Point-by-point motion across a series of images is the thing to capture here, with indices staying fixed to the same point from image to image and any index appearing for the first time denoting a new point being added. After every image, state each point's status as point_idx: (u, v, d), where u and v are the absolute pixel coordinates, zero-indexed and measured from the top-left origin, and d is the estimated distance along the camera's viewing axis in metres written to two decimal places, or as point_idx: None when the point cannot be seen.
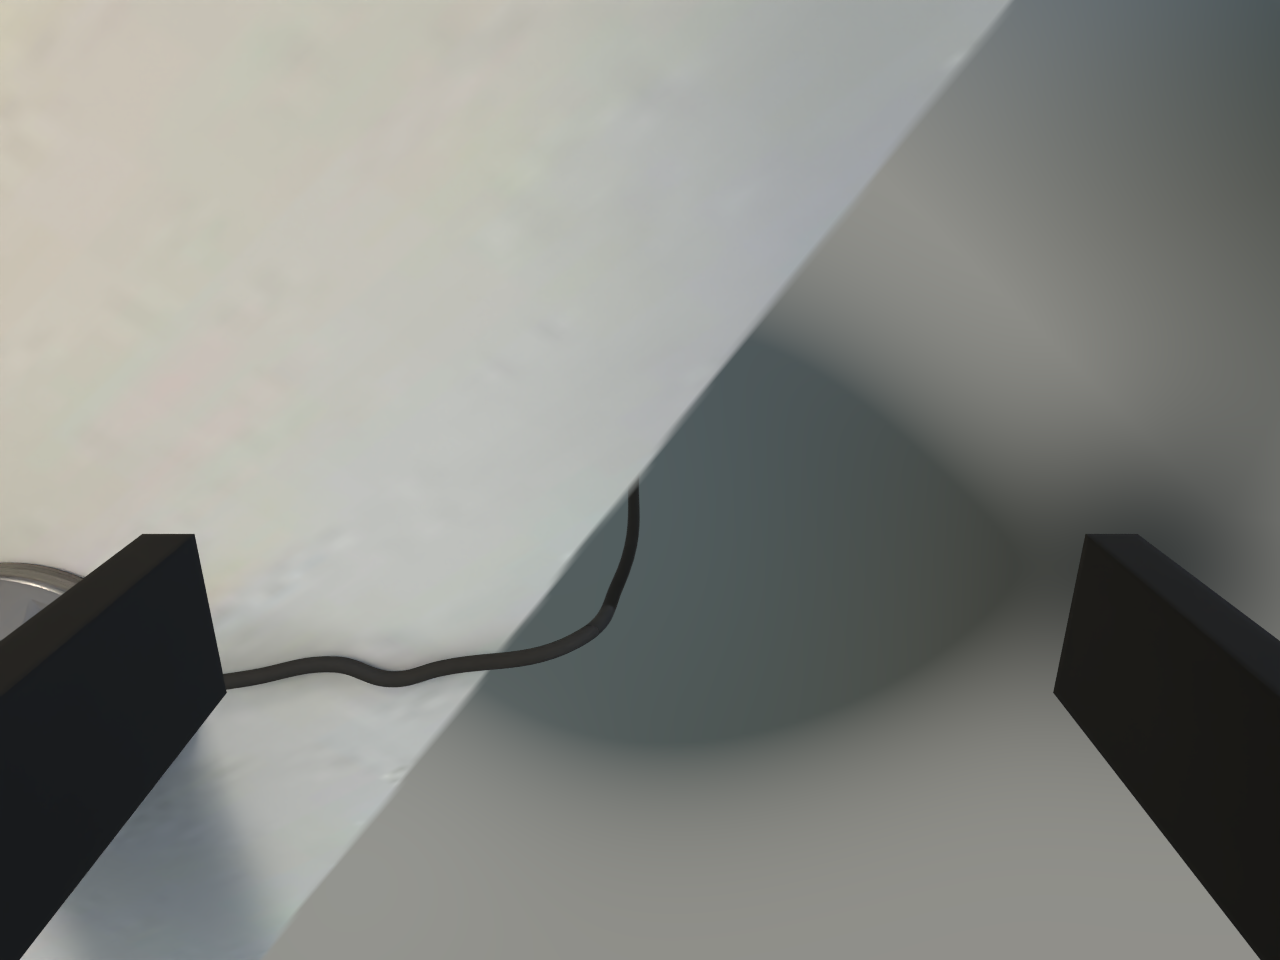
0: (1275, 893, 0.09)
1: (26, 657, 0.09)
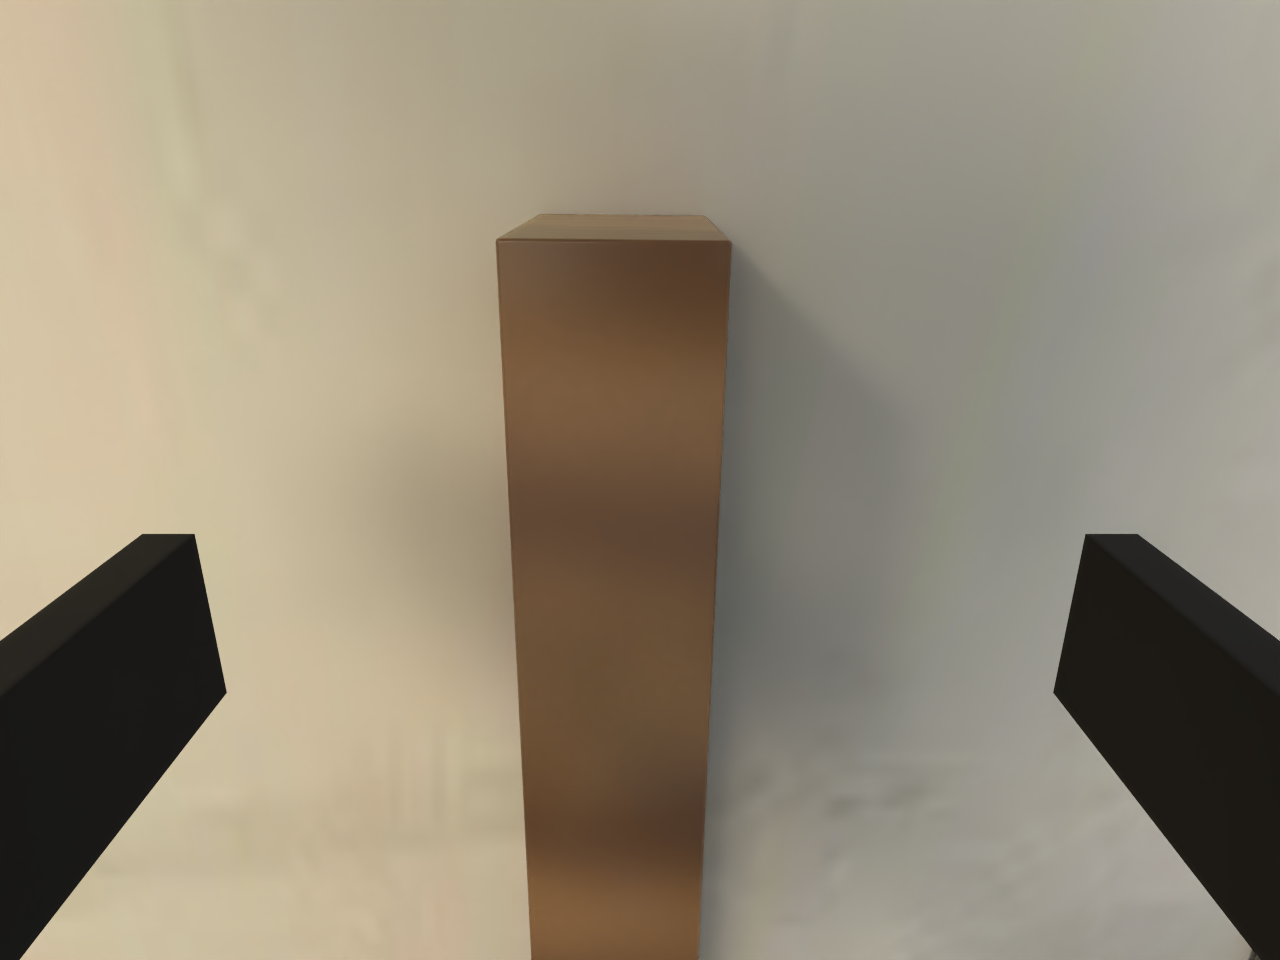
0: (1275, 893, 0.09)
1: (26, 657, 0.09)
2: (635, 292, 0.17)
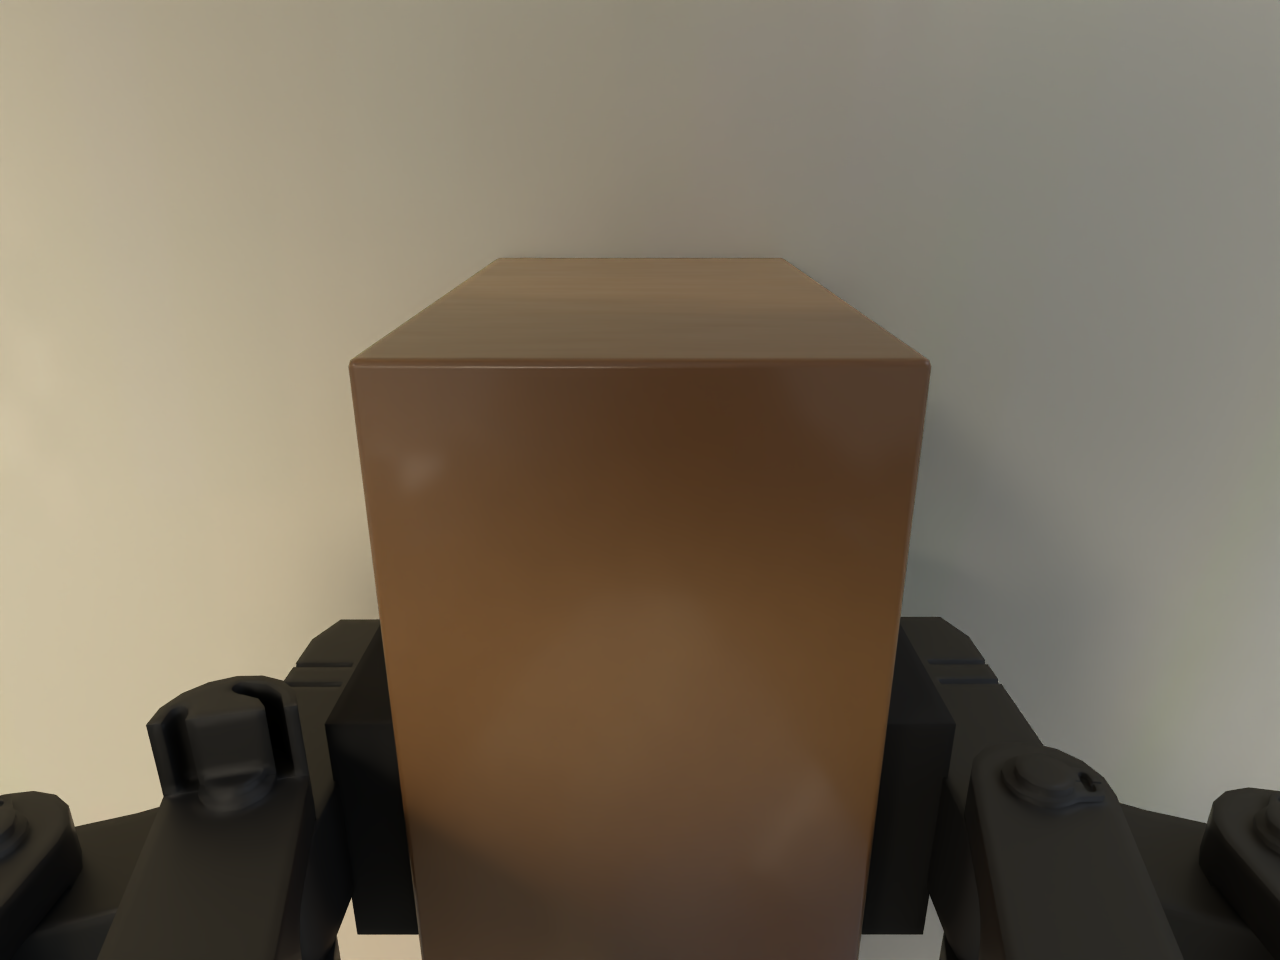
0: None
1: None
2: (692, 481, 0.07)
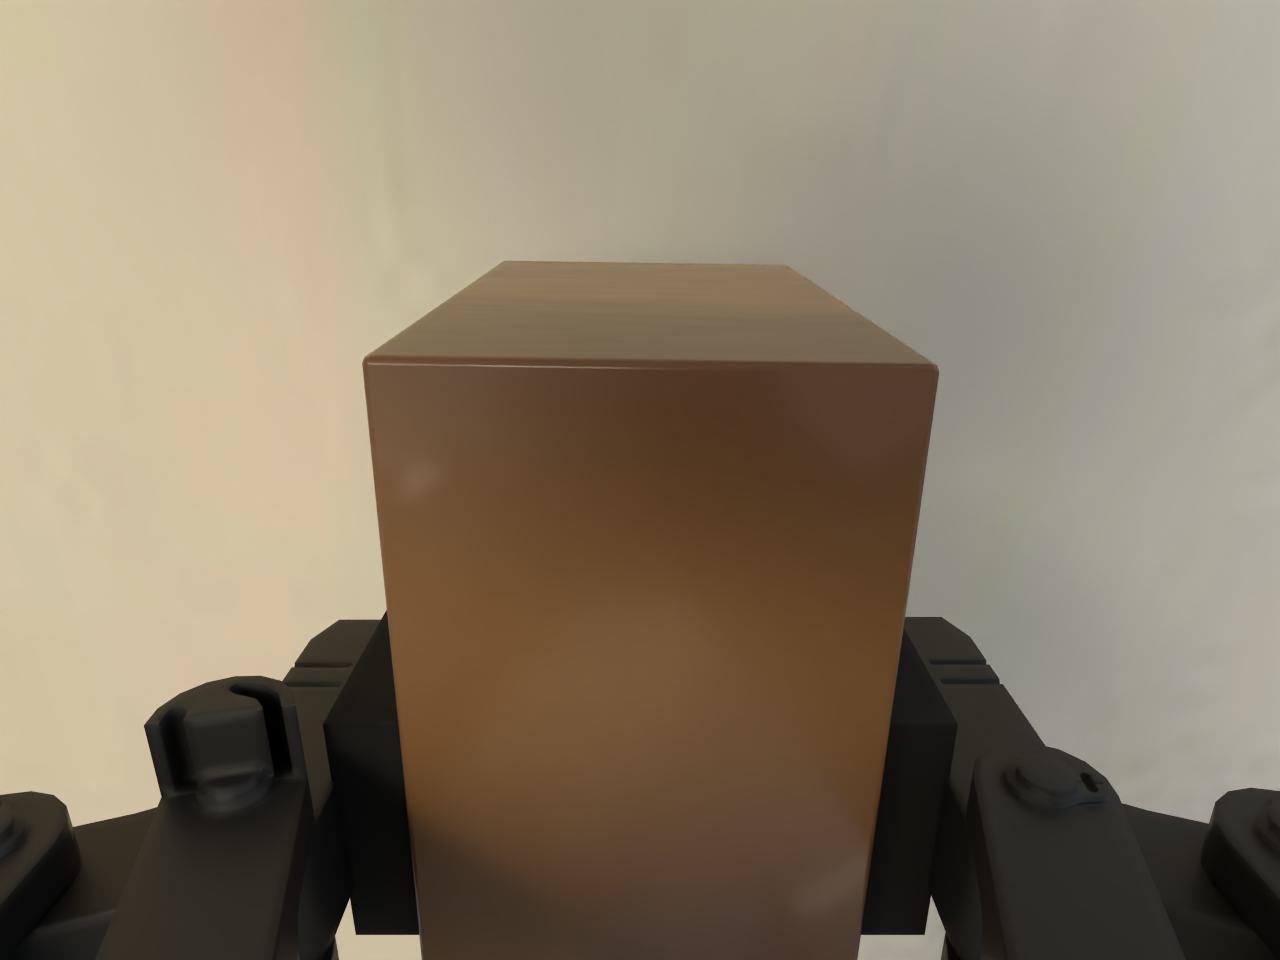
0: None
1: None
2: (702, 482, 0.07)
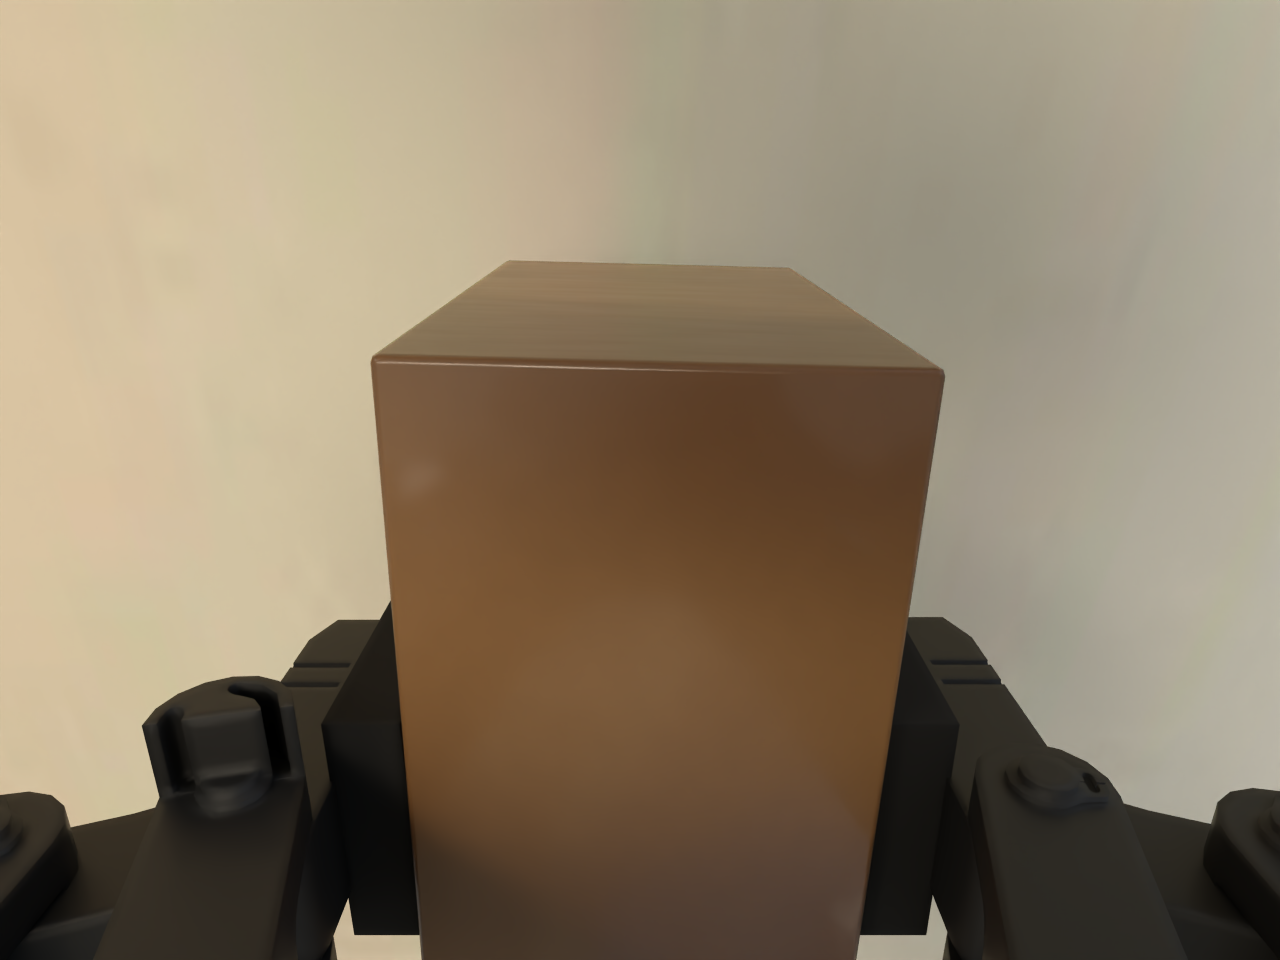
0: None
1: None
2: (706, 484, 0.07)
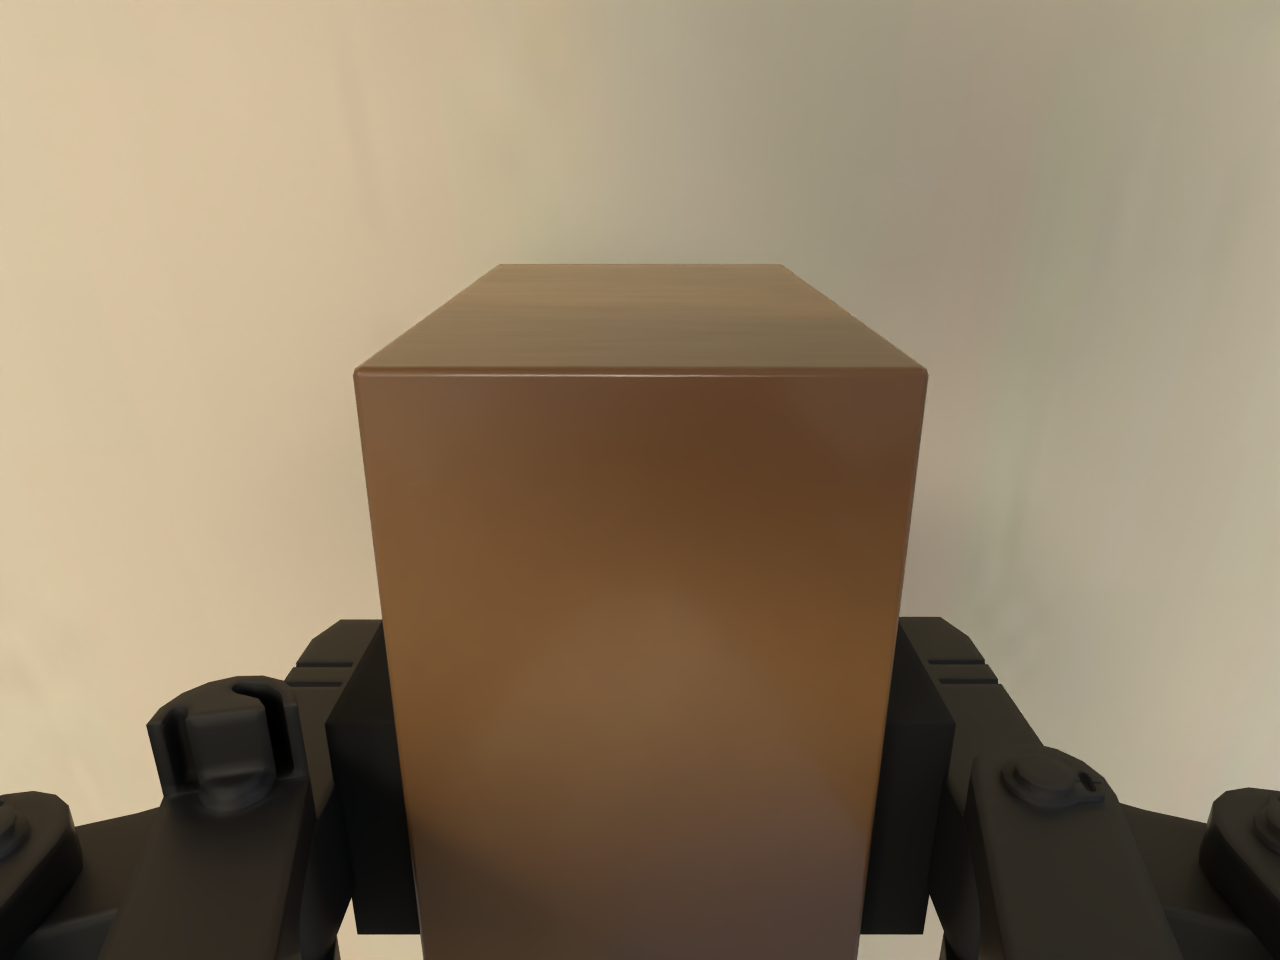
0: None
1: None
2: (693, 488, 0.07)
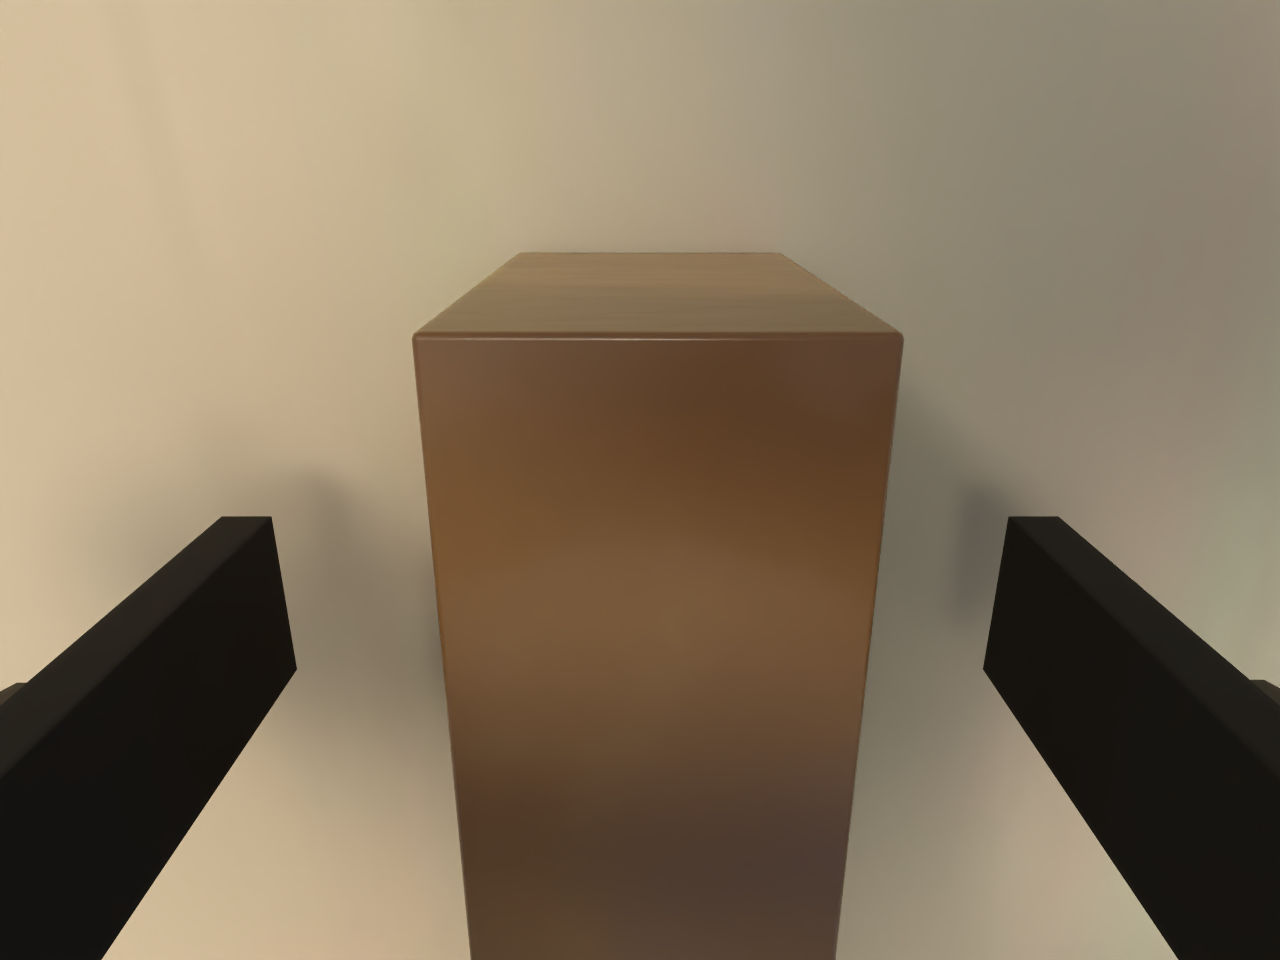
0: (1155, 845, 0.09)
1: (137, 626, 0.10)
2: (701, 437, 0.08)
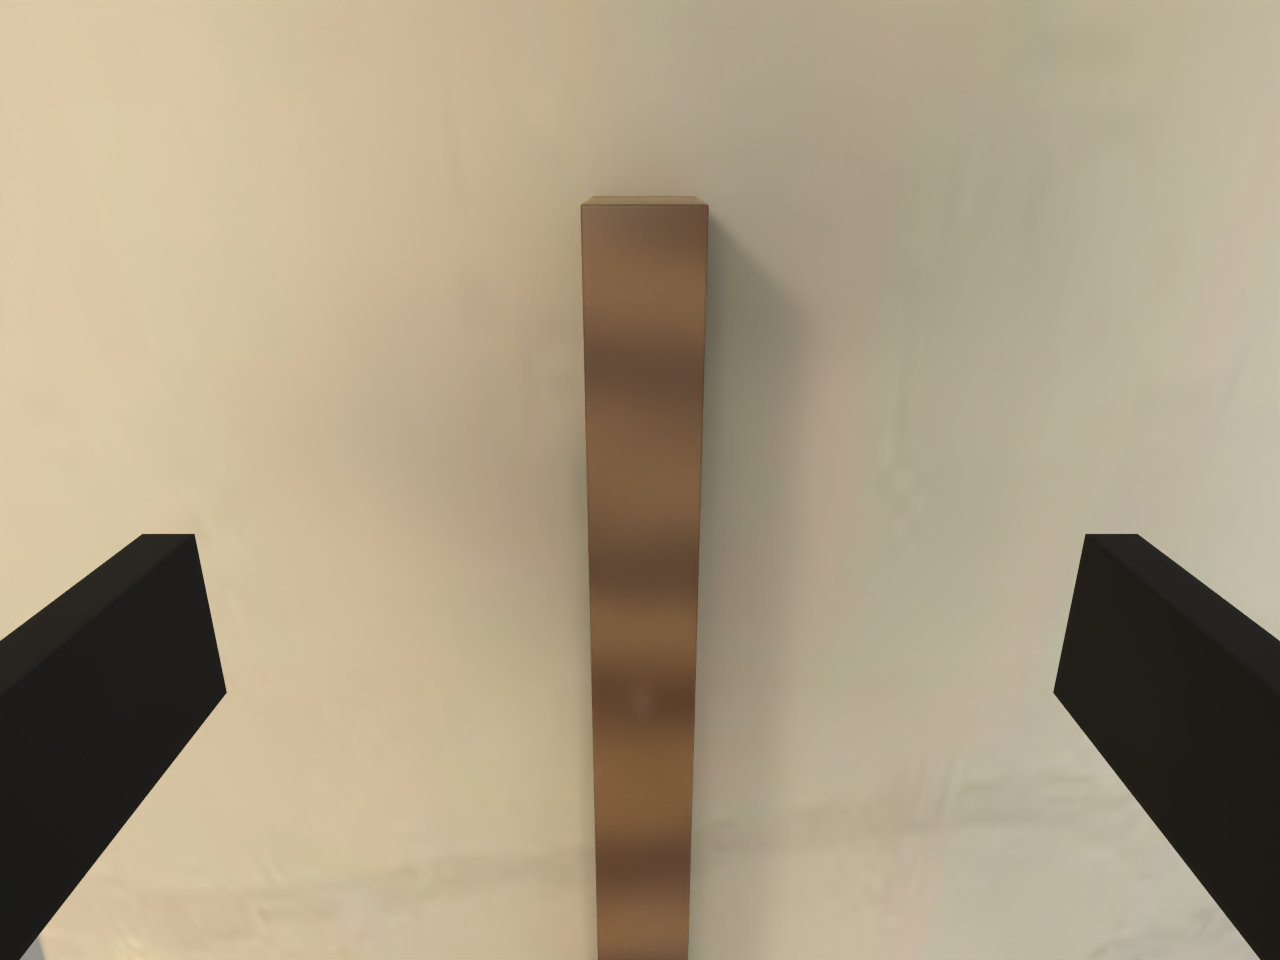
0: (1275, 893, 0.09)
1: (26, 657, 0.09)
2: (656, 233, 0.30)
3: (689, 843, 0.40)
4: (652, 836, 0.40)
